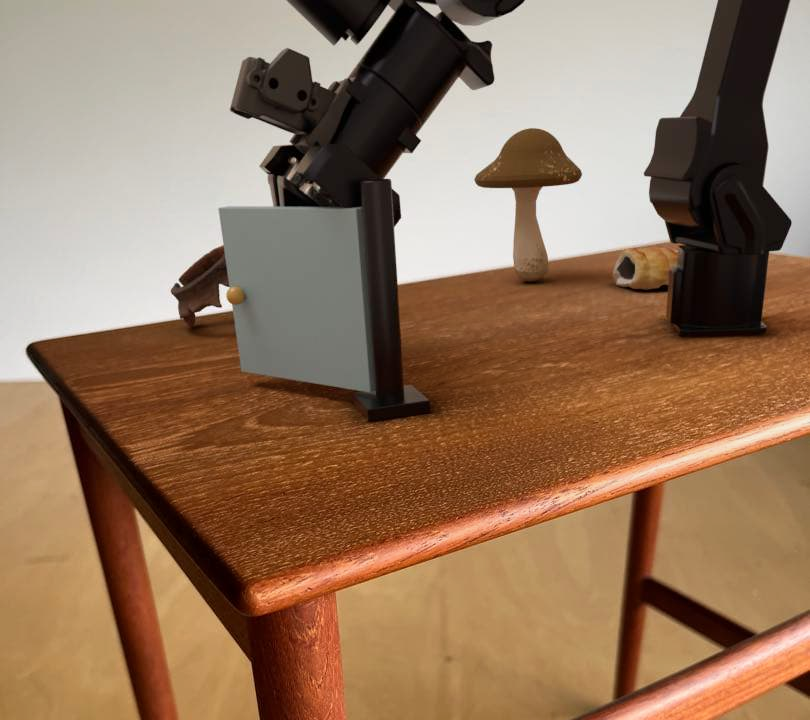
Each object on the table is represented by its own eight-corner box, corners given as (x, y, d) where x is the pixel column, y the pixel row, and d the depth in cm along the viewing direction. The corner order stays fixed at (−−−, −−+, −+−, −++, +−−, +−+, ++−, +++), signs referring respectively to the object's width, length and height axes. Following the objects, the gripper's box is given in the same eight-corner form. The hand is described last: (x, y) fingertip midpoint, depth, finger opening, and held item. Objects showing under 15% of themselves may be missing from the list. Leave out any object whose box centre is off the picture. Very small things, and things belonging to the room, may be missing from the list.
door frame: (430, 412, 55) (419, 178, 49) (368, 421, 54) (349, 184, 48) (411, 396, 58) (399, 176, 52) (353, 404, 57) (333, 181, 51)
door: (380, 388, 57) (366, 206, 52) (358, 397, 55) (342, 211, 50) (251, 368, 63) (229, 206, 59) (228, 375, 62) (203, 209, 57)
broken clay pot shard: (289, 338, 79) (231, 260, 74) (207, 383, 82) (148, 312, 78) (307, 280, 88) (257, 209, 83) (233, 324, 91) (181, 257, 87)
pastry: (688, 275, 92) (692, 237, 91) (725, 285, 87) (729, 244, 85) (606, 284, 91) (608, 245, 89) (638, 295, 85) (640, 253, 83)
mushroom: (500, 272, 101) (498, 129, 95) (594, 276, 95) (598, 123, 89) (459, 286, 94) (454, 133, 88) (558, 291, 89) (560, 127, 82)
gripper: (269, 22, 63) (145, 202, 65) (324, -21, 47) (156, 221, 49) (384, 132, 68) (265, 296, 71) (470, 128, 52) (312, 341, 54)
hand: (250, 288), depth 61 cm, fingers closed
